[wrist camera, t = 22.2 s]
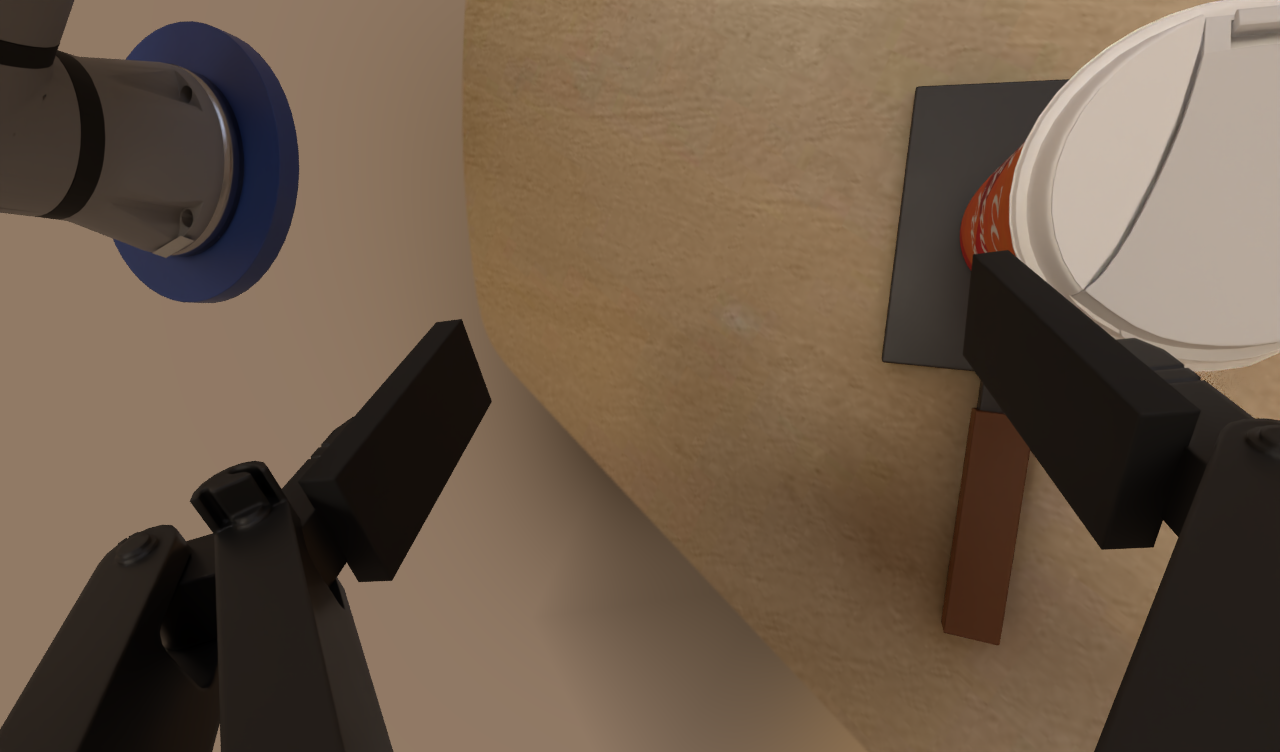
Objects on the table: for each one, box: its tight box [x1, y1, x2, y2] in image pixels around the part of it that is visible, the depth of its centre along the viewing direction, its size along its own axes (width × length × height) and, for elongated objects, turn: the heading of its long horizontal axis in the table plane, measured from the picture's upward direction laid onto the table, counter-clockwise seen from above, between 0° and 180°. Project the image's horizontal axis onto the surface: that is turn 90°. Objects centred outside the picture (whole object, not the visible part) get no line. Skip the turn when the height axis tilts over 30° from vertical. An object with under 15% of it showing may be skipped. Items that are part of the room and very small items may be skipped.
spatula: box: [882, 79, 1070, 645], centre depth 28 cm, size 11×26×1 cm, turn 175°
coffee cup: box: [960, 0, 1280, 371], centre depth 20 cm, size 8×8×15 cm
